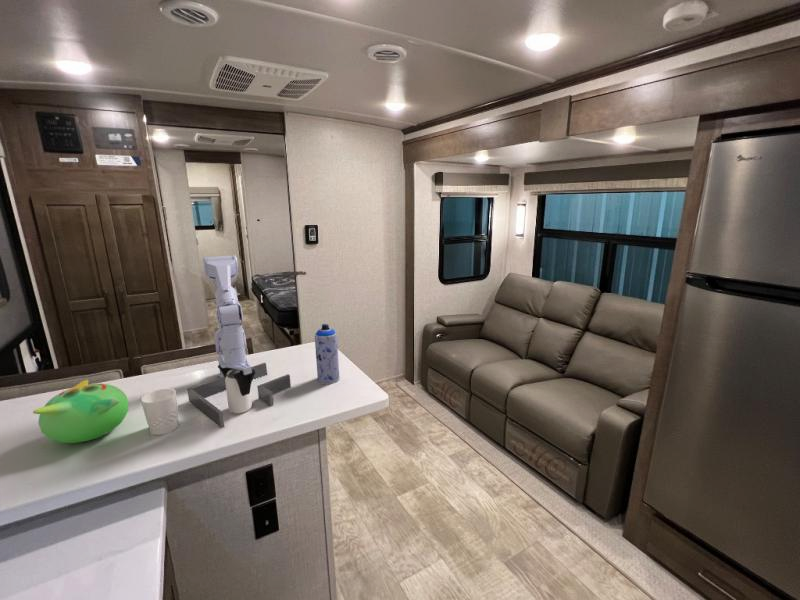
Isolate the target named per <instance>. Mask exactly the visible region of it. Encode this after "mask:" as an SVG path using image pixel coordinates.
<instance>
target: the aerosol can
mask: <svg viewBox="0 0 800 600" xmlns="http://www.w3.org/2000/svg"><path fill="white" fill-rule="evenodd" d="M338 345H339V343H338V333H337V332H336V331H335V330H334V329H333V328H331V327H330V326H329V324H326V323H324V324H322V325H321V327H320V328H319V329H318V330H317V331H316V332H315V334H314V346H315V347H314V348H315V359H316V360H315V361H316V362H315V363H316V374H317V379H316V381H317V382H318V383H319V384H321V385H332V384H333V385H334V384H335V383H337V382H339V381H340V379H341V376H340V364H339V363H340V362H339V347H338Z"/></svg>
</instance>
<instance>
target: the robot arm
mask: <svg viewBox="0 0 800 600" xmlns="http://www.w3.org/2000/svg"><path fill="white" fill-rule="evenodd" d="M202 262H203V269H204V274H205V277H206V279H207V281H211V282H214V284H215V285H216V291H215V292H214V297H215V303H216V304H215V305H216V308H215V315H216V323H217V327H218V329H217V330H216V331H215V332H214V344H215V351H216V354H217V355H218V357H217V361H218V365H217V368H218V370H219V373H217V374H216V375H217V377H218V378H221V377H225V378H226V373H227V372H228V371H230V370H232V369H239V370H240V372H239V373H236V374H233V376H234V378H235V379H236V381H237V383H238V385H239V389H240V393H241V395H242V396H245V395H247V394H249V393H250V389H251V387H252V382H253V380H252V379H253V377H254V375H255V370H253V369H252V370H251V367H252V366H251V365H250V364H249V362H248V359H247V355H246V350H247V349H248V345H247V339H246V338H247V337H246V334H245V330H244V328H243V324H244V316H243V309H242V306H241V304H240V301H239V299H238V293H237V290H236V288H234V287H233V286H232V280H234V279H236V278H237V277H238V274H239V263H238V257H237V256H236V255H235V254H232V255H219V256H218V255H217V256H204V257H203V259H202Z"/></svg>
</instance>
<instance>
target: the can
mask: <svg viewBox="0 0 800 600" xmlns="http://www.w3.org/2000/svg"><path fill="white" fill-rule="evenodd" d="M239 372H240V370H239V369H232V370H230V371H228V372H227V373H226V378H225V383H226V390H225V391H226V397H227V399H226V400H227V406H228V411H229V412H230V413H232V414H235V415H236V414H237V415H238V414H244V413H246V412H248V411H249V410H250V409H251V408H252V405H253V401H252V391H251V388H250V393H249V394H247V395H245V396H242V395H241V393H240V389H239V385H238V383H237V381H236V379H235V378H234V376H233V374H236V373H239Z"/></svg>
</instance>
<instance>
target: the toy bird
mask: <svg viewBox="0 0 800 600" xmlns="http://www.w3.org/2000/svg"><path fill="white" fill-rule="evenodd" d="M128 411H129V400H128V397H127V395H126V394H125V392H124V391H123V390H122V389H120V388H119V387H117V386H115V385H113V384H112V385H111V384H109V383H108V384H107V383H99V382H98V383H97V382H96V383H89V379H85V380H82V381H80V382H79V383H77V384H76V385H75V386H73V387H71V388H68V389H66V390H63V391H61V392H60V393H58V394H56V395H55V396H53V397H52V398H51V399H50V400H48V401H47V402H46V403H45V405H44V406H42V407H40V408H37V409H34V410H33V411H32V413H33V414H35V415H39V416H38V427H39V429H40V431H41V432H42V434H43V435H44V436H45V437H46V438H47V439H50V440H52V441H54V442H56V443H62V444H77V443H83V442H88V441H92V440H95V439H97V438H99V437H102V436H104V435H106V434H108V433H109V432H111V431H113V430H114V429H116V428H117V427H118V426H119V425H120V424H121V423H122V422H123V421H124V420H125V418H126V416H127V414H128Z"/></svg>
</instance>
